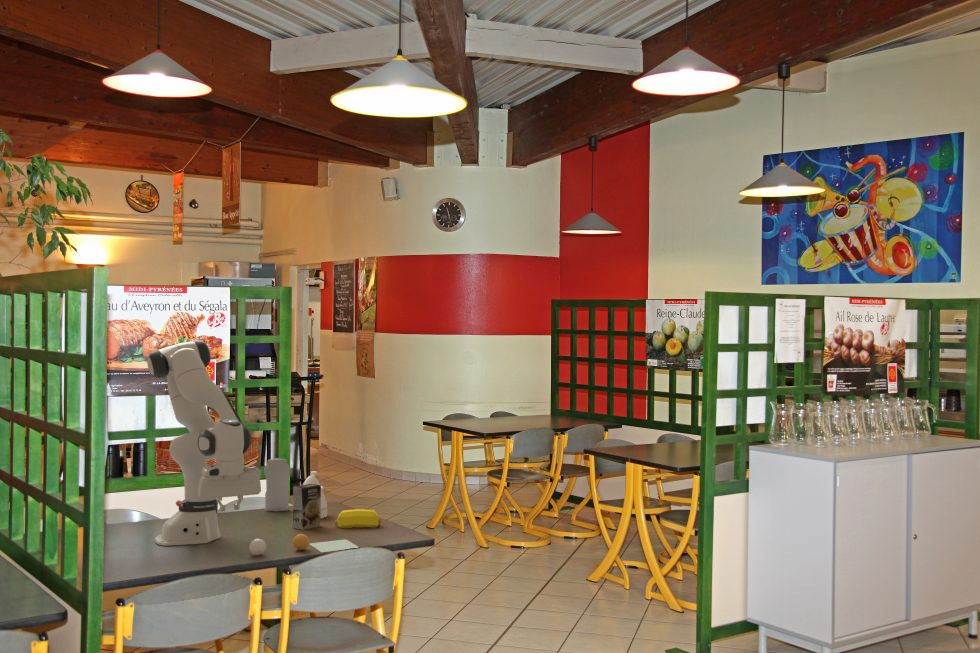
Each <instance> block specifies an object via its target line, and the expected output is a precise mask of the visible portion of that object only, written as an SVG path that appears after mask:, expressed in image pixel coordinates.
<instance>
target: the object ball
mask: <svg viewBox="0 0 980 653" xmlns="http://www.w3.org/2000/svg"><path fill="white" fill-rule="evenodd" d="M292 540H293V541H292V545H293V548H295V550H297V551H305V549H307V548H308V547H309V546H310V545H309V543H310V539H309V537H308V536H307V535H306V534H304V533H303V534H302V533H299V534H296V535H295V536H294V537H293V539H292Z"/></svg>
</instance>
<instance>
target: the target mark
mask: <svg viewBox="0 0 980 653" xmlns="http://www.w3.org/2000/svg"><path fill="white" fill-rule="evenodd" d="M308 546H310V547H312V548H313V549H315V550H317V551H318V552H319V553H322V554H323V553H332V552H338V551H339V552H340V550H341V551H346V550H345V549H349V550H351V549H350V548H357V549H359V548H358V547H359V546H358V545H356V544H355V543H353V542H351V541H350V540H348V539H337V540H329V541H321V542H320V541H319V542H311V543H310V542H309V545H308Z"/></svg>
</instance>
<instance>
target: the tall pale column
mask: <svg viewBox="0 0 980 653" xmlns="http://www.w3.org/2000/svg"><path fill="white" fill-rule="evenodd" d="M290 475H291V467H290V466H289V463H288V459H287V458H279V457H278V458H277V457H276V458H275V457H274V458H272V459H268V460H267V463H266V465H265V466H264V476H265V483H266V484H265V486H266V487H265V489H266V490H265V493H264V495H265V497H264V510H265V512H285V511H289V510H290V493H289V477H290Z"/></svg>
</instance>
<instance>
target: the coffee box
mask: <svg viewBox="0 0 980 653" xmlns="http://www.w3.org/2000/svg"><path fill="white" fill-rule="evenodd" d="M321 486H322V485H321V484H320V485H316V484H306V485H303V484H301V485H295V486H293V487H292V488H293V490H292V493H293V494H292V529H297V530H300V529H301V531H305V530H309V529H314V527H315V528H319V527H321V519H320V515H321ZM318 526H319V527H318Z"/></svg>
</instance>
